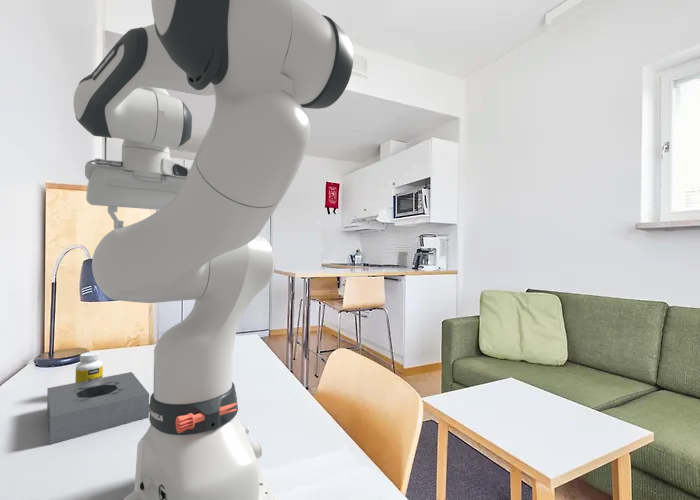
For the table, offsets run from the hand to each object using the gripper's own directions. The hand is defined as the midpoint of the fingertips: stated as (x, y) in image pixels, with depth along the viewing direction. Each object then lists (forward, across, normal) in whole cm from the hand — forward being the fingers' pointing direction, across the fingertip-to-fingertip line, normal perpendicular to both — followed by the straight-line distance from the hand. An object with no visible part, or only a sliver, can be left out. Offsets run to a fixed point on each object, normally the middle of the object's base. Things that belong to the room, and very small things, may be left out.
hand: (144, 230), depth 76 cm
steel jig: (+40, -8, +2) cm, 41 cm away
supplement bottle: (+42, -8, +17) cm, 46 cm away
